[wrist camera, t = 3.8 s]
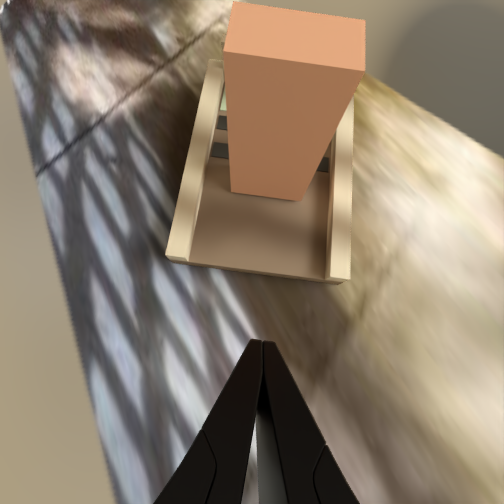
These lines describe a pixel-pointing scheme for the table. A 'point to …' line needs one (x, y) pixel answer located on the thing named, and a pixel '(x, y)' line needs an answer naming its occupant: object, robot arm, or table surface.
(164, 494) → the robot arm
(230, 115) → the tall block
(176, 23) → the table surface
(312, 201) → the open-ended rail tray
